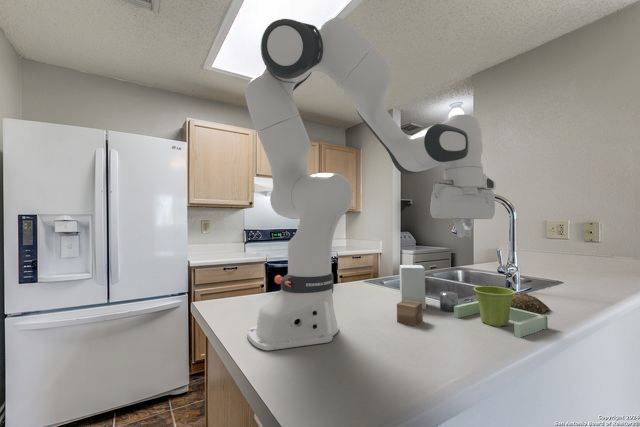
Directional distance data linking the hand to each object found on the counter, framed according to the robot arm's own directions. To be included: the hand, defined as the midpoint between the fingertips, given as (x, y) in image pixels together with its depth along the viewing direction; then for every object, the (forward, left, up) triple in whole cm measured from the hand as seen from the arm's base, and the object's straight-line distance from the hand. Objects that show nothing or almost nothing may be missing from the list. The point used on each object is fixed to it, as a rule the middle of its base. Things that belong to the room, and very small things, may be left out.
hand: (464, 237), depth 73 cm
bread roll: (+32, +4, -24) cm, 40 cm away
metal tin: (+11, +14, -23) cm, 29 cm away
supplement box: (+5, +23, -23) cm, 33 cm away
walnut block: (-7, +12, -23) cm, 27 cm away
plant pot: (+11, 0, -23) cm, 26 cm away
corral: (+12, 0, -23) cm, 26 cm away
